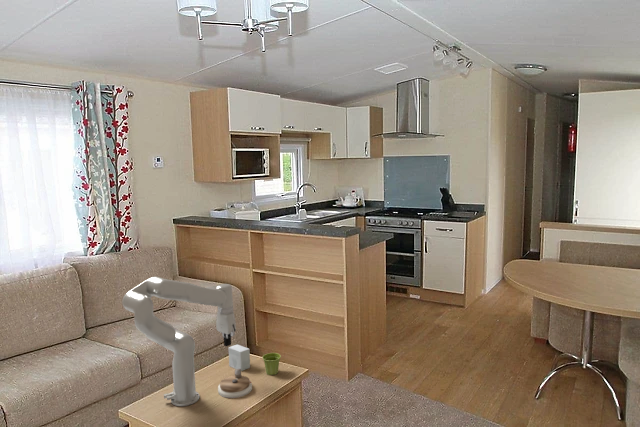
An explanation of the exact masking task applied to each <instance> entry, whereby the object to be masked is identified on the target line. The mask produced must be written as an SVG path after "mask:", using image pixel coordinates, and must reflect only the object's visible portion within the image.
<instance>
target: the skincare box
mask: <svg viewBox="0 0 640 427" xmlns="http://www.w3.org/2000/svg"><path fill="white" fill-rule="evenodd" d="M250 358H251V355H250V348H248V347H245V346H243V345H240V344H235V345H231V346H228V367H230V368H233V369H234V370H235V369H241V372H243V371H245V370H247V369H250V368H251V359H250Z"/></svg>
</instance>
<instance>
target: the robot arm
mask: <svg viewBox="0 0 640 427" xmlns="http://www.w3.org/2000/svg"><path fill="white" fill-rule="evenodd" d="M233 295H234V294H233V286H232V285H231V283H221V284H218V285H216V286H206V287H203V286H201V285H197V284H194V283H190V282H186V281H179V280H173V279H167V278H162V277H161V276H160V277H159V276H152V277H150V278H148V279H146V280H144V281H143V282H141V283H140V284H138V285H136V286H135V287H133V288H132V289H130V290H128V291H127V292H126V293H125V294H124V295H123V297H122V300H121V304H122V306H123V309H125V310H126V311H128V312H130V313H133V315H134V317H133V318H134V319H133V322H134V326H135V328H136V329H137V330H138V331H139V332H140V333H142V334H143V335H145V337H146V338H147V339H148V340H150V341H152V342H154V343H155V344H157V345H159V346H161V347H163V348H165V349H166V350H169V351H171V352H173V357H172V358H173V359H172V362H171V363H172V364H171V365H172V366H171V367H172V380H173V381H172V382H173V389H172V391H170V393H163V399H166V401H169V400H170V402H171V404H172V405H174V406H175V407H187V406H191V405H193V404H195V403H197V402H198V401H199V399H200V393H199V392H198V391H196V390H197V389H196V374H195V373H196V372H195V359H194V358H195V349H196V342H195V341H196V340H195V339H194V337H193V336H192V335H190V334H189V333H187V332H184V331H181V330H179V329H177V328H175V327H174V326H173V325H172V324H171V323H169V322H167V321H165V320H162V318H159V317H158V316H156V315H155V314H154V302H153V300H152V297H155V298H158V299H163V300H170V301H177V302H185V303H191V304H200V305H203V306H204V305H205V306H212V307H217V312H216V319H215V321H216V323H215V326H216V331H217V332H219V333H221V335H222V338H223V346H224V347H230V345H231V346H232V337H234V336H236V333H235V332H236V331H237V323H236V317H235V312H234V299H233V297H234V296H233Z"/></svg>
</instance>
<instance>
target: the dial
mask: <svg viewBox="0 0 640 427" xmlns="http://www.w3.org/2000/svg"><path fill="white" fill-rule="evenodd" d="M250 381H251V380H250V378H249V377H247V376H245V375H242V371H241V369H235V368H234V375H230V376H227V377H224V378H223V379H221V380H220V383H219V384H220V388H221V390H223V391H225V392H239V391H242V390H244V389H246V388H248V387H249V385H250Z"/></svg>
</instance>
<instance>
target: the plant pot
mask: <svg viewBox="0 0 640 427" xmlns="http://www.w3.org/2000/svg"><path fill="white" fill-rule="evenodd" d="M281 357H282V355H281V354H280V353H278V352H270V353H269V352H268V353H266V354H264V355H262V357H261V359H262V361H263V362H264V368H265V373H266V375H268V376H275V375H277V374H278V373H279V367H280V366H279V365H280V360H281Z"/></svg>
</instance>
